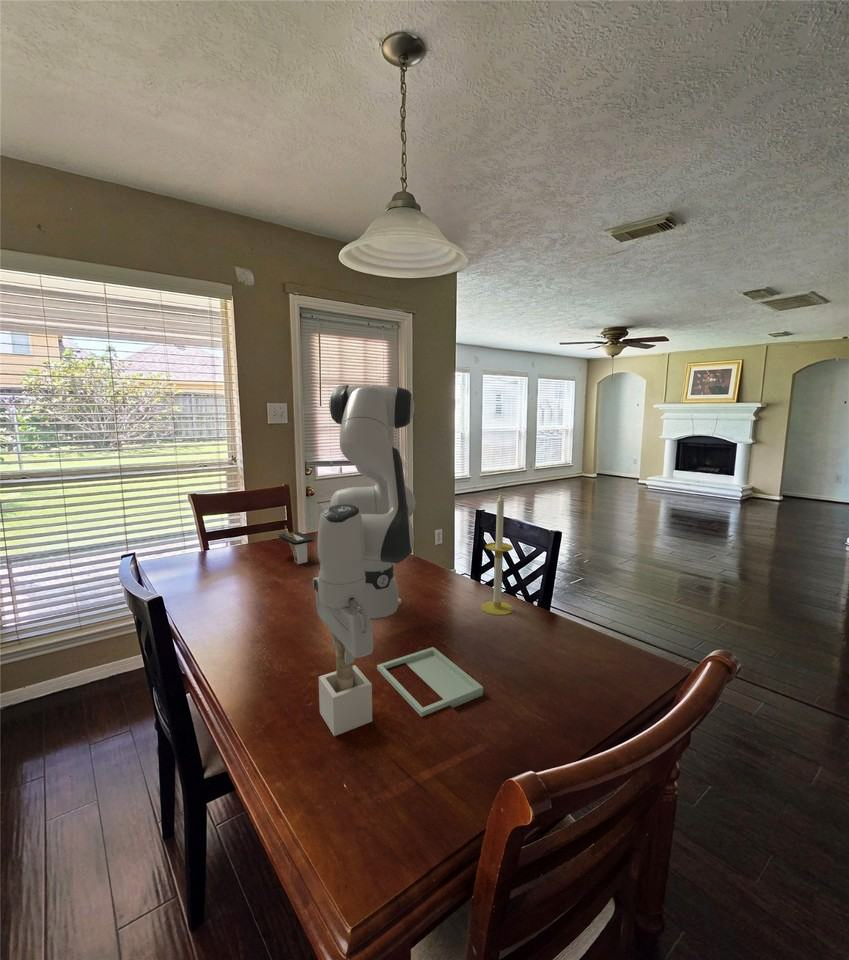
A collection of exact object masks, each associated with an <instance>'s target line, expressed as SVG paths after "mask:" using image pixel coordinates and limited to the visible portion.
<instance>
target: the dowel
mask: <svg viewBox="0 0 849 960" xmlns="http://www.w3.org/2000/svg"><path fill="white" fill-rule="evenodd" d="M344 652H345V648H344V645H343V644H342V643H341V641H340V640H338V641H336V651H335V671H336V679H337V693H338V692H341V691H344V690H347V689H350V688H353V666H354V665H353V663H350V664H346V663H345V662H344V660H343V653H344Z"/></svg>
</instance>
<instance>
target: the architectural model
mask: <svg viewBox="0 0 849 960" xmlns="http://www.w3.org/2000/svg"><path fill="white" fill-rule="evenodd" d="M284 532H285V533H279V534H278V538H280V539H281V540H283V541H284V542H287V543H288V545H289V547H290V550H291V551H292V554H293V562H294V563H296V564H297V565H300V564H305V563H308V543H312V542H314V541H315V540H314V539H315V538H314V537H311V536H309V535H306V534H305V533H302V532H299V531H289V530H288V529H287V525H284Z"/></svg>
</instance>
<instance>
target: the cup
mask: <svg viewBox="0 0 849 960" xmlns="http://www.w3.org/2000/svg"><path fill="white" fill-rule="evenodd" d="M318 694H319V695H318V700H319V702H318V703H319V714H320V716H321V717H322V719H323V720H324V722H325V724H326V725H327V727H328V728H329V730H330V732H331V733H332V736H333V737H336V736H338V735H341V734H344V733H346V732H349V731H351V730H354V729H357V728H358V727H362V726H364V725H366V724H369V723H372V722H373V684H372V682H371V681H370V680H369V679H368V678H367V677H366V676H365V675H364V674H363V672H362V671H361V670H360V669H359V667H357V665H355V664H354V665H353V688H350V689H347V690H344V691H341V692H338V693H337V679H336V670H335V671H333V672H332V671H331V672H329V673H326V674H323V675H320V676H318Z"/></svg>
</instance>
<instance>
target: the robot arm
mask: <svg viewBox="0 0 849 960" xmlns="http://www.w3.org/2000/svg"><path fill="white" fill-rule="evenodd" d="M414 401H415V400H414V398H413V396H412V393H411V392H410V390H409V389H408V388H404V387H399V386H397V387H394V386H393V387H392V386H388V385H380V384H379V385H378V384H372V385H369V384H367V385H366V384H364V385H363V384H360V385H349V384H343V385H338V386H337V387H335V388H334V389H333V390H332V391H331V395H330V398H329V401H328V403H329V404H328V409H329V413H330V415H331V416H330V417H331V419H332V420H333V421H334V422H335V423H336V424H338V425H340V432H339V448H340V450H341V453H342V454H343V456H344V457H345V458H346V460H348V462H350V464H353V465H354V466H355V468H356V471H357V472H358V473H359V474H360V475H362V476H363V477H365V478H367V479H370V480H372V481H374V482H375V485H373V486H352V487H350V486H349V487H346V488H342V489H339V490H336V491H335V492H334V493H333V495H332V496H331V498H330V503H329V506H328V507H326V508H324V509H323V510H321V512H320V515H319V520H318V521H319V522H318V530H317V557H318V558H317V559H318V561H319V564H320V565H319V566H320V567H319V571H318V576H317V577H312V587H313V589H314V590H315V591H314V593H315V602H316V603H315V604H316V605H315V606H316V611H317V614H318V618H319V619H320V620H321V621H322V622H323V623H324V624H325V626H327V628H328V629H329V630H330V632H331V633H330V634H331V637H332V640H333V648H334V651H335V652H336V641H338V640H340V641H341V643H342V644H343V645H344V648H345V652H344V653H343V660H344V662H345V663H346V664H350V663H352V664H353V663H354V662H355V659H359V658H362V657H366V656H369V655H371V654H372V653H373V652H374V651H373V650H374V636H373V624H372V619H381V618H385V617H389V616H391V615H393V614H395V613H396V612H397V610H398V608H399V606H400V605H401V604H402V603H403V602H402V599H401V598H400V597H399V592H398V581H397V579H396V578H395V577H394V576H395V575H394V572H395V569H394V564H399V563H401V562H403V561H404V560H406V559H407V558H408V557H410V555H411V554H412V553H413V549H414V545H415V535H414V529H413V524H412V523H411V520H410V519H411V516H412V515H413V514H414V511H415V509H416V505H417V504H416V502H417V501H416V497H415V494H414V492H413V491H412V489H410V488H409V487H408V486H406V481H405V473H404V468H403V462H402V457H401V454H400V451H399V450H398V448H396V447H395V442H394V441H395V437H394V435H395V433H394V429H396V430H397V429H398V430H399V429H400V428H401V429H402V428H406V427H407V426H408V425H409V424H410V423H411V420H412V419H413V418H414V413H415V402H414Z"/></svg>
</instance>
